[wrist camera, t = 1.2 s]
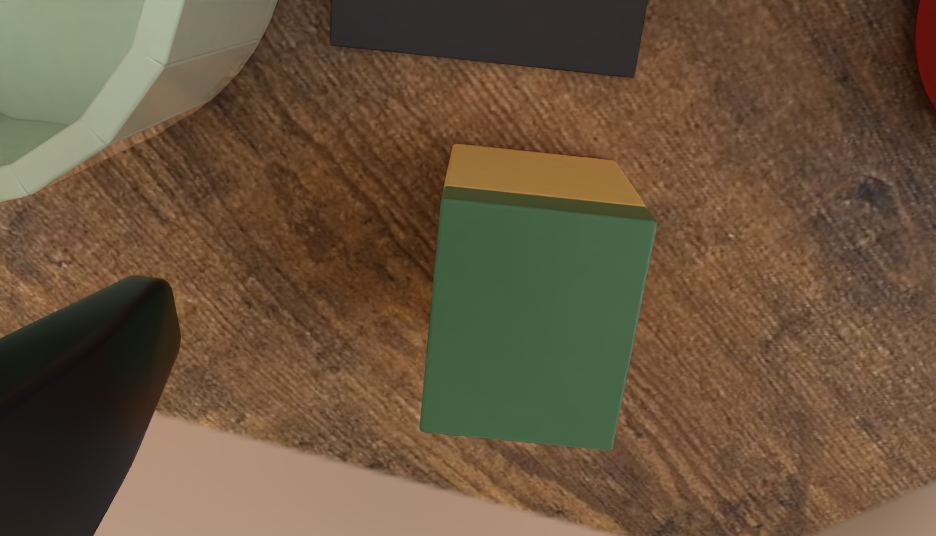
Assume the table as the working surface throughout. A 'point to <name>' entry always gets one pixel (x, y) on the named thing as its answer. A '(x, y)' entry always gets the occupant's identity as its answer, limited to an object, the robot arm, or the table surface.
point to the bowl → (109, 76)
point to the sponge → (534, 297)
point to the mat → (499, 31)
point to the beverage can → (927, 46)
